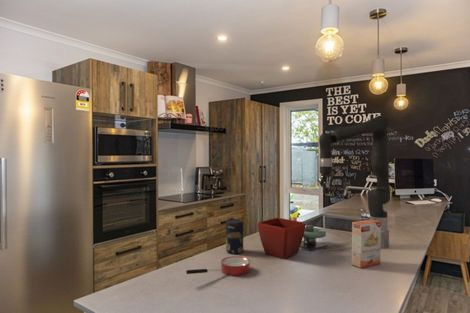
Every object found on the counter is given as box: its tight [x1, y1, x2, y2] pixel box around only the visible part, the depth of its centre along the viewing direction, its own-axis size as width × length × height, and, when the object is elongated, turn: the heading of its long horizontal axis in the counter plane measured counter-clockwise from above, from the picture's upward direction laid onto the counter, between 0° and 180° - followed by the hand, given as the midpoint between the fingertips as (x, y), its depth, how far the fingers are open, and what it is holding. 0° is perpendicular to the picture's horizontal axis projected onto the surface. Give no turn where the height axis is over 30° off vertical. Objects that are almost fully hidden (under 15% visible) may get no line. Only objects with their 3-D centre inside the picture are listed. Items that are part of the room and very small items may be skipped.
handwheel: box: [290, 216, 327, 239], centre depth 179 cm, size 20×18×9 cm
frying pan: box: [185, 256, 251, 277], centre depth 135 cm, size 32×13×6 cm, turn 135°
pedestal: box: [299, 237, 328, 252], centre depth 179 cm, size 14×14×7 cm
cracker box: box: [351, 219, 382, 269], centre depth 149 cm, size 14×6×21 cm, turn 117°
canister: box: [225, 218, 244, 254], centre depth 168 cm, size 10×10×18 cm
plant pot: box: [257, 217, 307, 260], centre depth 165 cm, size 19×19×17 cm
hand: (326, 193), depth 191 cm, fingers closed
